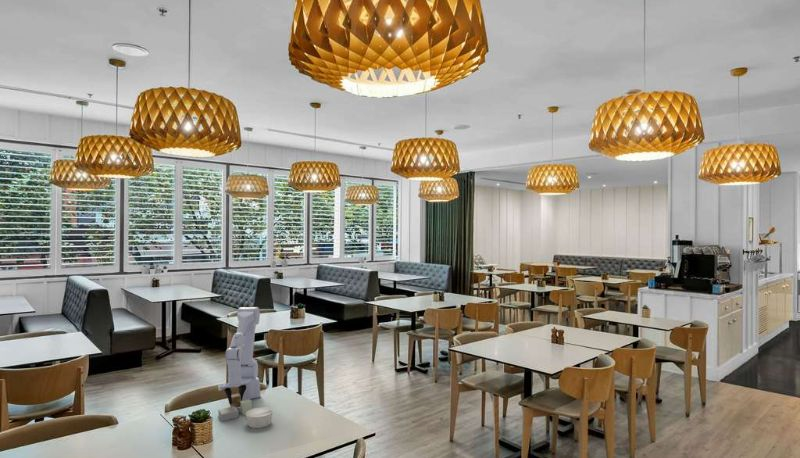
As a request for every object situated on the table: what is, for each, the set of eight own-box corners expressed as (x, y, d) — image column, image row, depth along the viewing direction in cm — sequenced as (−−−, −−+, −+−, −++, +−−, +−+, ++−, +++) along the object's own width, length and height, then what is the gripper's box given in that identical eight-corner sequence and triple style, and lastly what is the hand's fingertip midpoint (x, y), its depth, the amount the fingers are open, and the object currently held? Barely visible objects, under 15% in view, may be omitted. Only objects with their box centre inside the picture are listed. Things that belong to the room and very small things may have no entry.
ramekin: (265, 430, 202) (265, 417, 202) (240, 428, 205) (240, 416, 205) (277, 419, 213) (277, 407, 213) (253, 418, 216) (253, 406, 216)
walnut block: (238, 403, 230) (238, 393, 230) (241, 406, 227) (240, 395, 227) (230, 405, 228) (229, 395, 228) (232, 408, 225) (231, 397, 224)
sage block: (249, 410, 226) (249, 399, 226) (251, 412, 222) (251, 401, 222) (240, 412, 224) (240, 401, 224) (242, 414, 220) (242, 403, 220)
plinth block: (234, 412, 223) (234, 406, 223) (238, 417, 217) (238, 410, 217) (218, 416, 219) (218, 409, 219) (222, 421, 213) (222, 414, 213)
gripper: (220, 378, 220) (221, 409, 220) (252, 372, 228) (253, 402, 228) (216, 374, 226) (217, 404, 226) (248, 369, 234) (249, 397, 234)
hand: (235, 402), depth 227 cm, fingers closed on walnut block, 4 cm apart
